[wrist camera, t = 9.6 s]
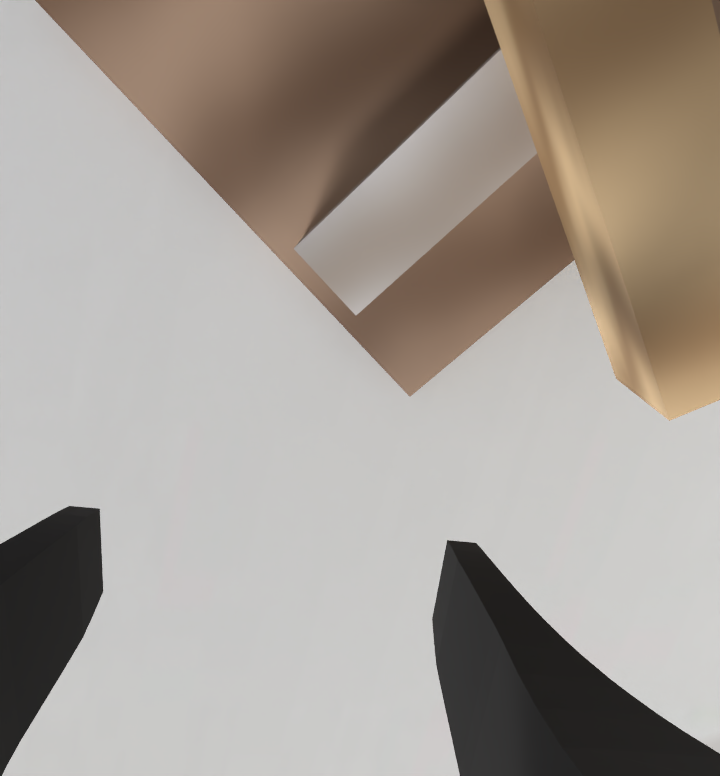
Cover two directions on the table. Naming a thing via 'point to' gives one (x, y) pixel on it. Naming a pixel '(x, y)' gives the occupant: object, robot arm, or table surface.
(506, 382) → the table surface
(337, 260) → the stand
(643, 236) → the oak bar
